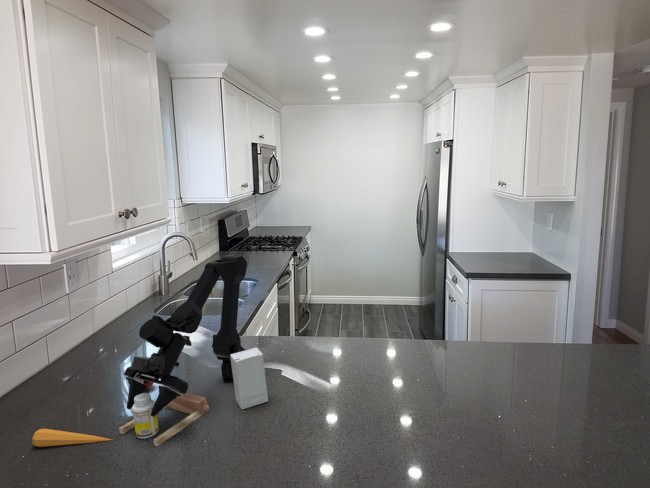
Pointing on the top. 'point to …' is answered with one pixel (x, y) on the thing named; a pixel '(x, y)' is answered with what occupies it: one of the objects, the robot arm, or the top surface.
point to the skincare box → (249, 378)
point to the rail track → (183, 403)
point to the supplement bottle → (144, 416)
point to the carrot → (62, 438)
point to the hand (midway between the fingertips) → (139, 412)
